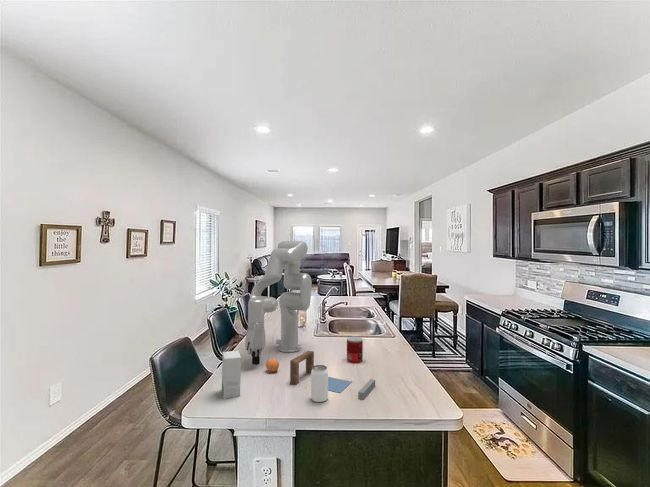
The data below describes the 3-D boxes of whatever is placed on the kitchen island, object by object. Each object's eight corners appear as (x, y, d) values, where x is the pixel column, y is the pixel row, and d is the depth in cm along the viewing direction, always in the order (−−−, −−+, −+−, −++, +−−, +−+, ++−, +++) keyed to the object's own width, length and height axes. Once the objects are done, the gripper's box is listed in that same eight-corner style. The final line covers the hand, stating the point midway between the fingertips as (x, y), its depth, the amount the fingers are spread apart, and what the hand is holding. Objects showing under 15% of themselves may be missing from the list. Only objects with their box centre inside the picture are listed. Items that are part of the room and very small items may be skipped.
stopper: (358, 398, 130) (358, 392, 130) (370, 384, 143) (370, 378, 143) (363, 399, 130) (363, 393, 130) (375, 385, 142) (375, 379, 142)
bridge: (290, 383, 144) (290, 360, 144) (308, 371, 157) (308, 350, 157) (296, 384, 143) (296, 361, 143) (313, 372, 156) (313, 351, 156)
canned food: (361, 363, 168) (361, 341, 167) (345, 362, 169) (345, 340, 169) (363, 358, 175) (363, 337, 175) (347, 357, 177) (347, 336, 177)
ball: (263, 372, 156) (263, 359, 156) (271, 368, 161) (271, 355, 161) (274, 374, 153) (274, 361, 153) (281, 370, 159) (281, 357, 159)
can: (310, 395, 133) (310, 364, 133) (327, 394, 134) (327, 364, 134) (311, 403, 127) (311, 370, 127) (328, 402, 127) (328, 370, 127)
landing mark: (313, 387, 141) (313, 386, 141) (326, 376, 151) (326, 376, 151) (340, 393, 135) (340, 392, 135) (351, 382, 146) (351, 381, 146)
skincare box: (221, 390, 137) (221, 351, 137) (238, 387, 140) (238, 349, 140) (223, 399, 130) (223, 358, 129) (241, 396, 132) (241, 356, 132)
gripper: (259, 321, 170) (259, 358, 170) (239, 327, 156) (238, 367, 156) (272, 323, 166) (271, 360, 166) (252, 329, 153) (251, 370, 153)
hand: (255, 364), depth 161 cm, fingers closed
